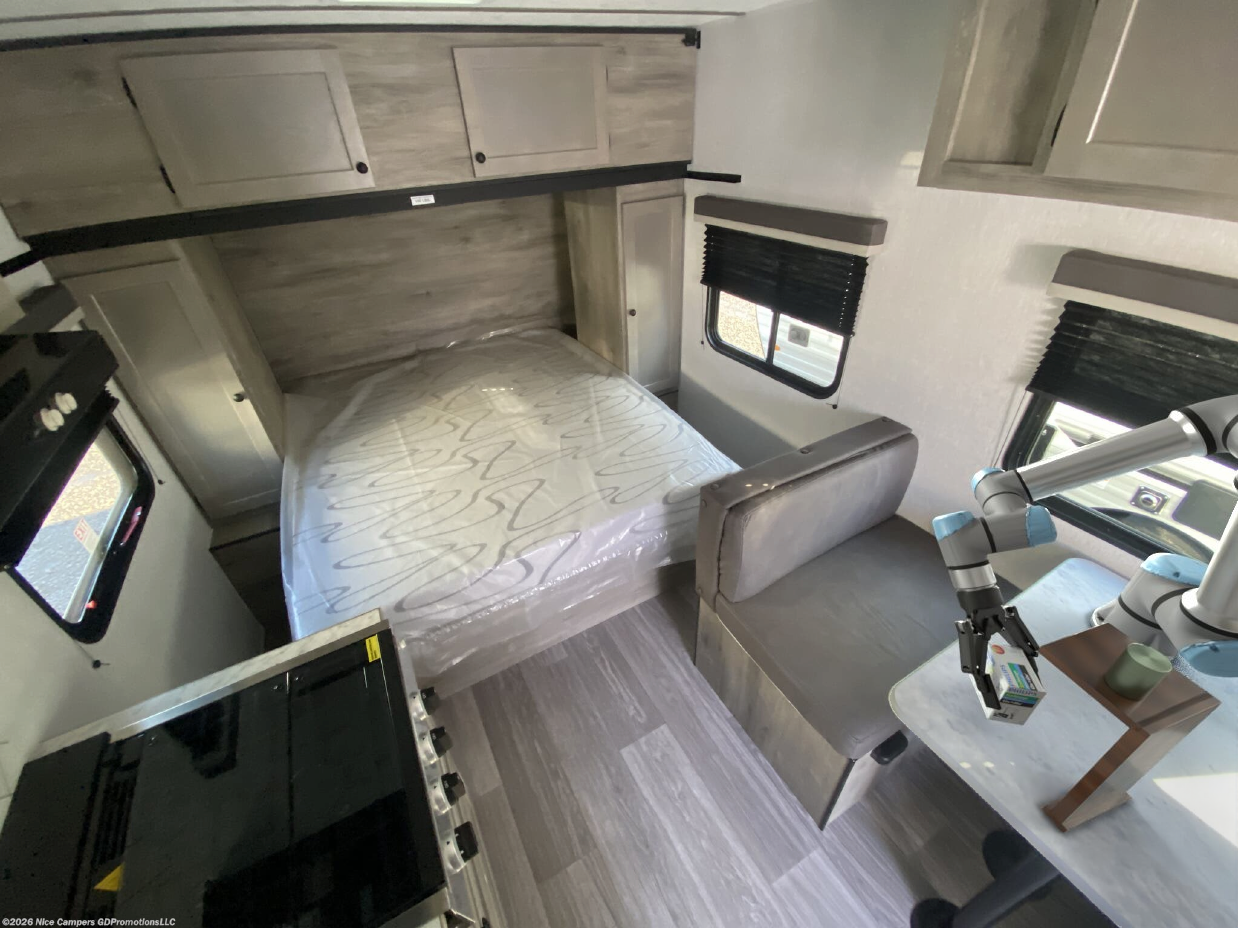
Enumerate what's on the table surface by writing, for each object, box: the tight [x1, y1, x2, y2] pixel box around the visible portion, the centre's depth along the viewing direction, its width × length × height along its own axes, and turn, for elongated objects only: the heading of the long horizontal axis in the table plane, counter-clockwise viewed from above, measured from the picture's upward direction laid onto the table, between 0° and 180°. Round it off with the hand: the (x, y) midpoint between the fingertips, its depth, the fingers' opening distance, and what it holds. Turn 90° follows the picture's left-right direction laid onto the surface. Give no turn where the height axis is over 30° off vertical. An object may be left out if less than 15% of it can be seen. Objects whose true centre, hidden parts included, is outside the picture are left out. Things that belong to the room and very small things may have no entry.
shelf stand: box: [1037, 622, 1223, 834], centre depth 86 cm, size 16×17×36 cm
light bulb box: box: [968, 642, 1048, 726], centre depth 102 cm, size 11×7×11 cm, turn 169°
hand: (1015, 699), depth 100 cm, fingers closed on light bulb box, 10 cm apart
